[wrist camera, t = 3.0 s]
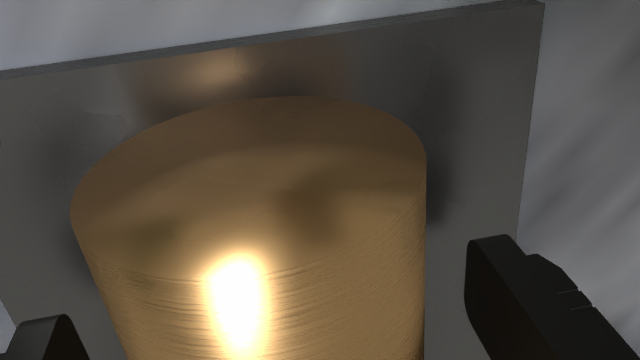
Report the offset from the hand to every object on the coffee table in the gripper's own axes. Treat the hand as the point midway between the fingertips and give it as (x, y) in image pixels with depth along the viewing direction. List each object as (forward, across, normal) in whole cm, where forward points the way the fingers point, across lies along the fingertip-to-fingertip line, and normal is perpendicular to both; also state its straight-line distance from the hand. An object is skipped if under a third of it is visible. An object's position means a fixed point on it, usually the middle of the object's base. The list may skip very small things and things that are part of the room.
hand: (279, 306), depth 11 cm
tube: (+1, 0, +7) cm, 7 cm away
